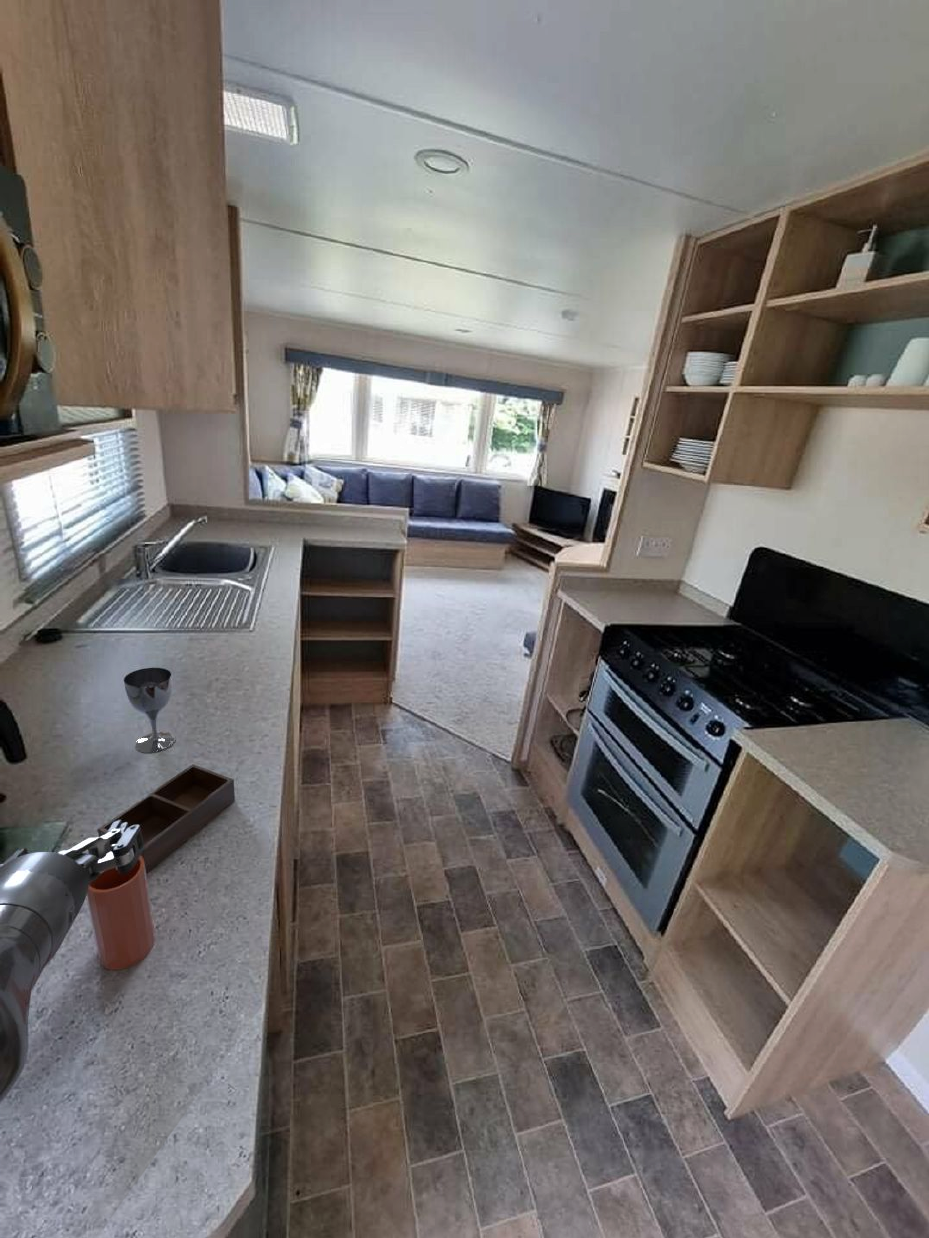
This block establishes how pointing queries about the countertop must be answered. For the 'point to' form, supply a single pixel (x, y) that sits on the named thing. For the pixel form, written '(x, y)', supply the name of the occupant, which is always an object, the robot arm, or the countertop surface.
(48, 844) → the countertop surface
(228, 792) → the caddy
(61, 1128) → the countertop surface
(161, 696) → the wine glass
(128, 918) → the tumbler
